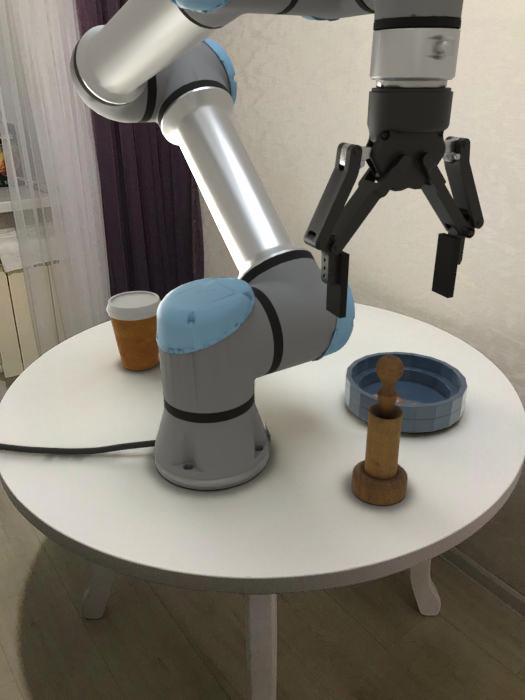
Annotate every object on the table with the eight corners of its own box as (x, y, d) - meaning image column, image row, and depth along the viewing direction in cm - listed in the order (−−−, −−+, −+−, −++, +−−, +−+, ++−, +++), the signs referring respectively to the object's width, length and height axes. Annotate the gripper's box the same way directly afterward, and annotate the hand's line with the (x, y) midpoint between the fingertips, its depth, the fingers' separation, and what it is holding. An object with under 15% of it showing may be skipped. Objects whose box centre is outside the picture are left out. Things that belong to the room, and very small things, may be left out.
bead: (395, 419, 87) (386, 410, 86) (392, 407, 89) (384, 398, 88) (409, 412, 86) (401, 403, 85) (406, 400, 88) (398, 391, 87)
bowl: (388, 449, 80) (391, 417, 78) (324, 392, 95) (325, 364, 92) (488, 420, 87) (493, 390, 84) (413, 370, 101) (416, 344, 99)
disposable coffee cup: (103, 362, 105) (94, 298, 100) (149, 346, 111) (143, 286, 106) (130, 380, 99) (122, 313, 94) (178, 363, 104) (173, 299, 99)
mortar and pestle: (395, 470, 76) (409, 343, 68) (414, 503, 70) (431, 368, 62) (345, 475, 75) (353, 346, 67) (360, 508, 69) (370, 372, 61)
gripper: (310, 87, 46) (303, 336, 55) (545, 83, 55) (506, 297, 64) (269, 85, 52) (269, 309, 61) (487, 82, 61) (459, 277, 70)
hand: (391, 303), depth 63 cm, fingers open, 13 cm apart
